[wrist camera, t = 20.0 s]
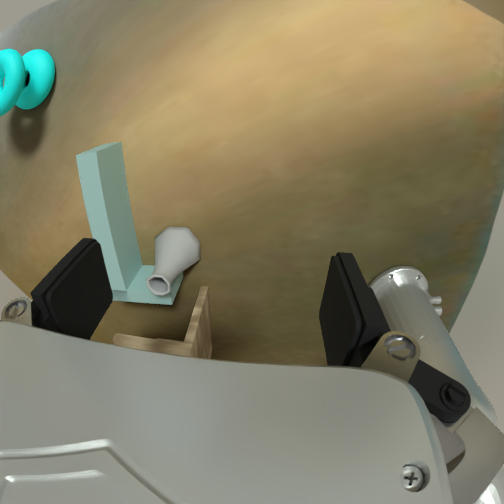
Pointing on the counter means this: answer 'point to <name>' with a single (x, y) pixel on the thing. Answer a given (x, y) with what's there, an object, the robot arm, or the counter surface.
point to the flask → (172, 257)
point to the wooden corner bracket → (195, 340)
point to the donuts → (15, 78)
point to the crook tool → (116, 225)
